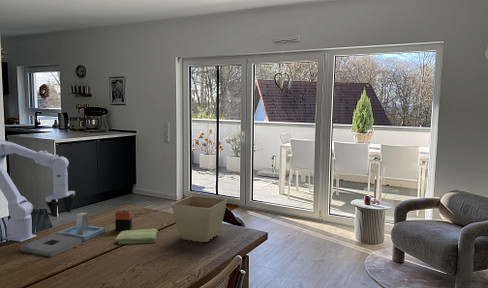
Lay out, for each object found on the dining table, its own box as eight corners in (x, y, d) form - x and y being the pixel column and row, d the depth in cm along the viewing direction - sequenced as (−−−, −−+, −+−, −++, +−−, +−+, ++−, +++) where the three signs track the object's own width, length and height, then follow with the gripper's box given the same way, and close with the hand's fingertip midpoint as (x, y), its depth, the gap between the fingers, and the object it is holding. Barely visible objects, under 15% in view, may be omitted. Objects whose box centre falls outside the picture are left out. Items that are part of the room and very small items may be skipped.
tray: (58, 236, 166) (58, 232, 165) (79, 228, 178) (79, 224, 178) (85, 241, 161) (84, 236, 161) (105, 232, 173) (105, 228, 173)
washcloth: (119, 235, 171) (119, 228, 170) (158, 234, 174) (158, 227, 173) (114, 245, 158) (114, 238, 158) (156, 244, 161) (156, 237, 160)
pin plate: (20, 250, 148) (20, 246, 148) (52, 238, 163) (52, 233, 163) (51, 256, 143) (51, 251, 143) (81, 243, 158) (81, 238, 158)
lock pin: (76, 233, 168) (75, 214, 167) (82, 231, 172) (81, 212, 171) (82, 234, 167) (82, 215, 166) (88, 232, 170) (88, 213, 170)
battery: (129, 231, 175) (129, 210, 174) (115, 231, 175) (115, 210, 174) (132, 228, 180) (132, 208, 179) (118, 228, 179) (118, 208, 179)
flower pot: (170, 240, 165) (170, 203, 163) (192, 228, 182) (192, 194, 181) (208, 247, 158) (209, 208, 156) (227, 234, 175) (227, 199, 174)
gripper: (54, 188, 155) (55, 219, 157) (80, 182, 169) (80, 211, 170) (41, 186, 158) (42, 217, 159) (67, 180, 171) (68, 209, 172)
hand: (61, 214), depth 165 cm, fingers open, 7 cm apart
